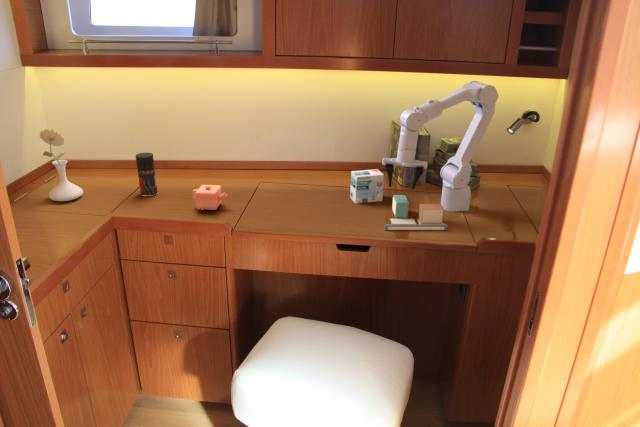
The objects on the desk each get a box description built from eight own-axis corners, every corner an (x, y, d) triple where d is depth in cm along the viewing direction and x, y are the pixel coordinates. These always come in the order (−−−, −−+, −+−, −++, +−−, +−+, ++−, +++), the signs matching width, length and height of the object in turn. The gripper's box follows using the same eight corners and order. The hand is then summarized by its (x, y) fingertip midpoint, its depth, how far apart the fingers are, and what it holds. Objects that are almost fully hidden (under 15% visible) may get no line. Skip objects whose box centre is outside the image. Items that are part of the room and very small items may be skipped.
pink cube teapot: (225, 213, 176) (223, 190, 173) (191, 211, 177) (188, 189, 174) (230, 204, 183) (229, 182, 180) (197, 202, 184) (196, 181, 181)
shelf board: (434, 210, 180) (435, 204, 179) (447, 232, 165) (447, 225, 164) (377, 210, 180) (378, 204, 179) (384, 232, 164) (385, 225, 163)
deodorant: (158, 195, 190) (153, 156, 184) (141, 197, 188) (136, 158, 182) (156, 190, 195) (152, 151, 189) (140, 192, 193) (135, 153, 187)
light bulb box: (355, 205, 184) (356, 176, 180) (349, 198, 190) (350, 170, 186) (383, 202, 187) (385, 174, 182) (376, 195, 193) (378, 168, 188)
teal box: (407, 218, 173) (408, 202, 171) (395, 218, 173) (396, 202, 170) (403, 209, 179) (404, 195, 177) (391, 209, 179) (392, 195, 177)
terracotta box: (439, 219, 172) (441, 203, 170) (442, 224, 168) (444, 208, 166) (418, 219, 172) (419, 203, 170) (420, 224, 168) (422, 208, 166)
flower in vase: (91, 195, 189) (79, 128, 179) (65, 206, 179) (51, 136, 169) (65, 189, 194) (52, 124, 184) (38, 200, 184) (23, 131, 174)
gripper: (385, 148, 163) (380, 189, 169) (431, 152, 163) (424, 193, 169) (384, 143, 170) (378, 182, 175) (427, 147, 170) (421, 185, 175)
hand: (401, 187), depth 172 cm, fingers open, 7 cm apart
